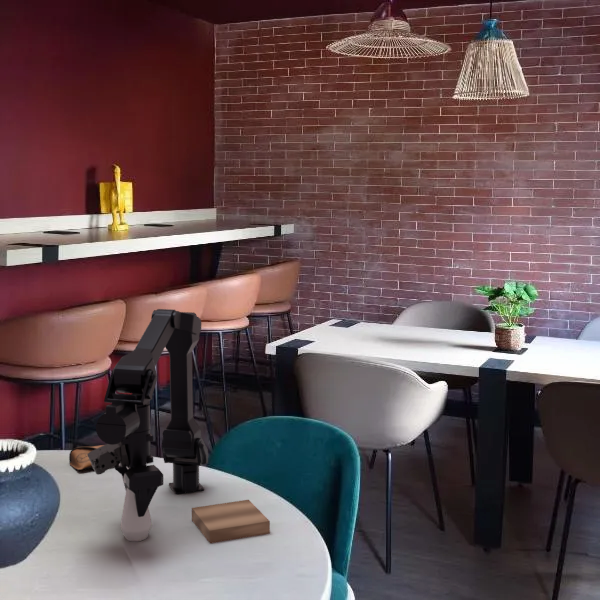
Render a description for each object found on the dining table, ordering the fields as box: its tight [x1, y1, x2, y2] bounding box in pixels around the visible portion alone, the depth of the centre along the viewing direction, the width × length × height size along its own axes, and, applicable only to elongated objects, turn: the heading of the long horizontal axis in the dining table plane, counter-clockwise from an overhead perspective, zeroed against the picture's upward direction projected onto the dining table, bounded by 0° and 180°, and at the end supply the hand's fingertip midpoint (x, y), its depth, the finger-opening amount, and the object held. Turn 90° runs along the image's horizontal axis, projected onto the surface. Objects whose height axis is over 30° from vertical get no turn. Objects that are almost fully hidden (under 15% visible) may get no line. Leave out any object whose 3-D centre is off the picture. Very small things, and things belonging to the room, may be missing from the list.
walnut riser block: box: [191, 499, 271, 544], centre depth 166 cm, size 12×12×3 cm
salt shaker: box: [120, 474, 153, 542], centre depth 160 cm, size 6×6×13 cm
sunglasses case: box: [68, 444, 105, 471], centre depth 202 cm, size 18×7×7 cm
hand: (136, 508), depth 160 cm, fingers open, 8 cm apart
